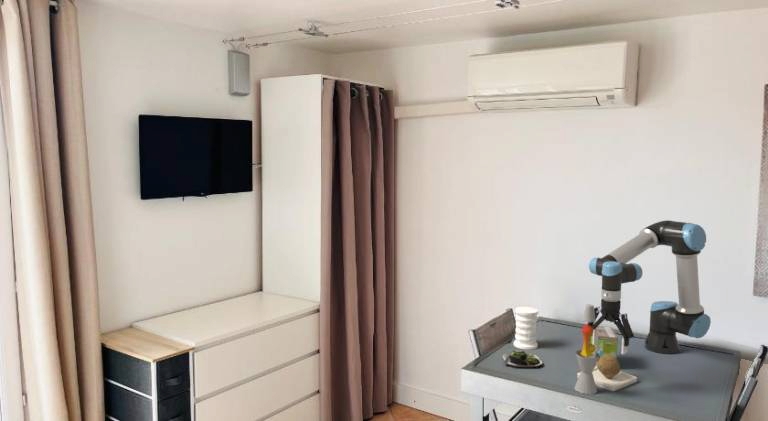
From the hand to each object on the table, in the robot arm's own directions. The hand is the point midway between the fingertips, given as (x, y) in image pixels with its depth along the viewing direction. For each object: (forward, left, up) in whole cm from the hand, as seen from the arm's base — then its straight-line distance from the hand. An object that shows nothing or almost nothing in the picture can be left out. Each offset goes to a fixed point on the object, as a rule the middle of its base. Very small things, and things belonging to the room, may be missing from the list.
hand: (609, 348), depth 246 cm
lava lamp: (+16, +1, -14) cm, 21 cm away
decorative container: (-5, -48, -14) cm, 50 cm away
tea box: (-16, -13, -14) cm, 24 cm away
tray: (0, 0, -14) cm, 13 cm away
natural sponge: (0, 0, -13) cm, 12 cm away
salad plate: (+14, -34, -14) cm, 40 cm away
